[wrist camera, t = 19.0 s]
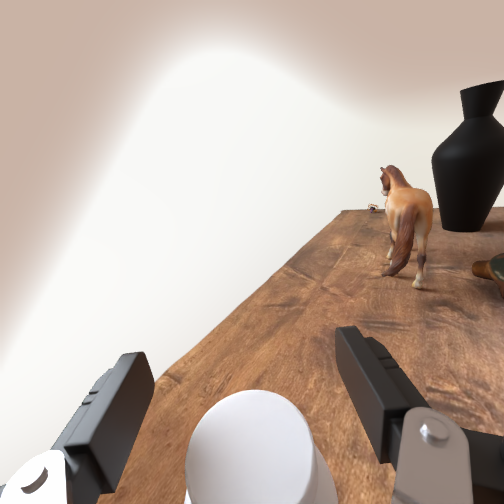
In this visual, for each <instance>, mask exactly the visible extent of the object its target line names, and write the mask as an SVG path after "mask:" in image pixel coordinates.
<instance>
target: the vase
mask: <svg viewBox="0 0 504 504" xmlns="http://www.w3.org/2000/svg"><path fill="white" fill-rule="evenodd" d="M503 90H504V80H501V81H496V82H491V83H486V84H481V85H477V86H474V87H470V88H467V89H464V90H461V91H460V94H461V101H462V107H463V114H464V121H463V122H462V123H461V124H460V126H459V127H458V128H457V129H456V130H455V131H454V132H453V133H452V134H451V135H450V136H449V137H448V138H447V139H446V140H445V141H444V142H442V143H441V144H440V145H439V146H438V148H437V149H436V150H435V152H434V154H433V156H432V169H433V175H434V181H435V187H436V193H437V199H438V205H439V210H440V216H441V222H442V228H443V229H445V230H448V231H454V232H475V231H479V230H480V229H481V227H482V225H483V224H484V222H485V220H486V218H487V216H488V214H489V212H490V210H491V208H492V206H493V204H494V202H495V201H496V198H497V197H498V195H499V193H500V191H501V189H502V187H503V185H504V127H503V126H502V125H501V124H500V123H499V122H498V121H497V120H496V119H495V118H494V117H493V113H494V110H495V108H496V106H497V104H498V102H499V99H500V97H501V95H502V93H503Z"/></svg>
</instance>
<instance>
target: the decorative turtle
mask: <svg viewBox="0 0 504 504" xmlns="http://www.w3.org/2000/svg"><path fill="white" fill-rule="evenodd" d="M472 273H473V274H474V275H475V276H477V277H480V278H484V279H489V280H493V281H495V282H496V284H497V285H498V286H499V289H500V292H501V295H502V297H503V298H504V253H501V254H499V255H497V256H495V257H493V258H492V259H491V260H487V261H476V262H474V263H473V265H472Z"/></svg>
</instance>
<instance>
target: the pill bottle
mask: <svg viewBox="0 0 504 504" xmlns="http://www.w3.org/2000/svg"><path fill="white" fill-rule="evenodd" d="M185 479H186V486H187V492H186V496H185V502H184V504H338V497H337V492H336V488H335V484H334V481H333V478H332V475H331V472H330V470H329V467H328V465H327V463H326V461H325V459H324V457H323V456H322V454H321V453H320V451H319V449H318V448H317V447H316V445H315V444H314V440H313V436H312V433H311V430H310V428H309V425H308V423H307V421H306V420H305V418H304V416H303V415H302V413H301V412H300V411H299V410H298V409H297V407H296V406H295V405H293V404H292V403H291V402H290V401H289V400H287V399H286V398H284V397H282V396H280V395H278V394H276V393H273V392H269V391H264V390H247V391H242V392H238V393H235V394H233V395H230V396H228V397H226V398H224V399H223V400H221V401H220V402H218V403H217V404H216V405H214V406H213V407H212V408H211V409H210V410H209V411H208V412H207V413H206V414H205V415H204V416H203V418H202V419H201V420H200V422H199V423H198V425H197V427H196V428H195V430H194V432H193V434H192V437H191V439H190V442H189V445H188V449H187V454H186V460H185Z"/></svg>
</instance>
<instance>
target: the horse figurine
mask: <svg viewBox="0 0 504 504" xmlns="http://www.w3.org/2000/svg"><path fill="white" fill-rule="evenodd" d="M380 169H381V171H382V172H383V174H382V176H381V177H380V179H381V181H382V184H383V188H382V191H381V193H382V194H383V195H384V196H387V199H386V202H385V208H386V210H385V213H386V215H387V218H388V222H389V226H390V228H391V231H390V239H391V247H390V250H389V253H388V255H387V256H386V258H387V259H392V260H391V262H390V267H389V269H388V270H387V271H385V272H383V273H382V274H381V275H382V276H383V277H385V276H395V275H396V274H398V272H399V271H400V270H401V269H402V268H404V267H405V266H406V264H407V263H408V260H409V258H410V251H411V249H412V247H413V239H414V232H415V233H416V236H417V243H418V248H419V250H418V255H417V260H418V264H419V266H418V273H417V275H416V280H415V281H414V282H413V283H412V287H413V288H419V289H420V288H421V287H422V282H421V281H422V280H423V266H424V263H425V262H426V253H425V249H426V246H427V241H428V234H429V232H430V230H431V227H432V219H433V204H432V200H431V198H430V195H429V194H428V193H427V192H426V191H424V190H422V189H417V188H412V187H411V186H410V184H409V183H407V181H406V180H405V178H404V176H403V174H402V172H401V171H400V170H399V169H398V168H396V167H395V166H393V165H389V166H388V167H386V169H384V168H382V167H381V168H380Z"/></svg>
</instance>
